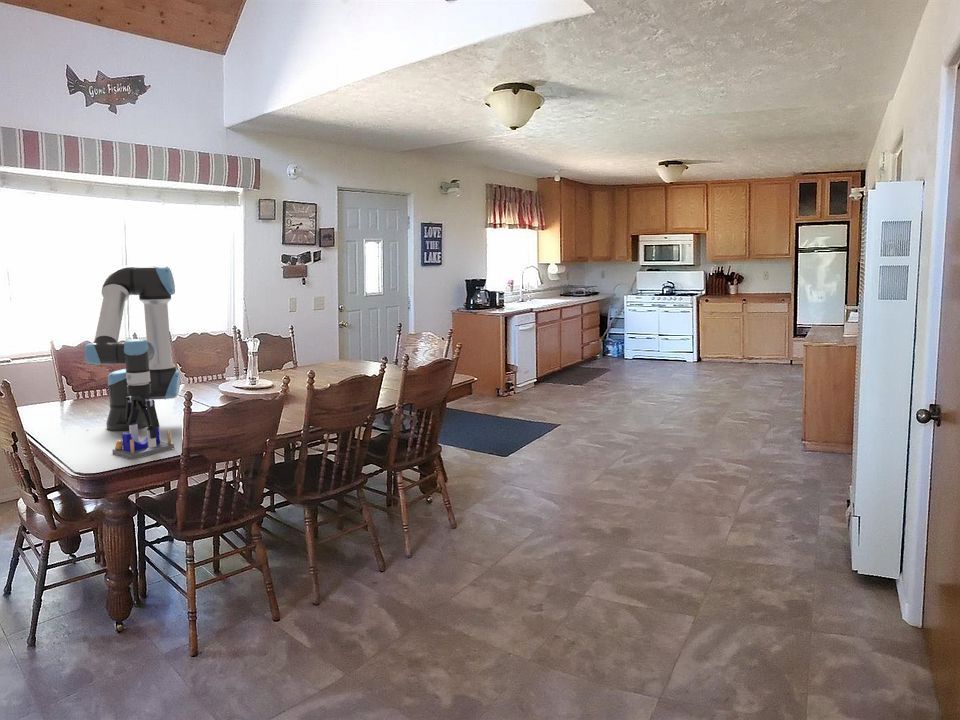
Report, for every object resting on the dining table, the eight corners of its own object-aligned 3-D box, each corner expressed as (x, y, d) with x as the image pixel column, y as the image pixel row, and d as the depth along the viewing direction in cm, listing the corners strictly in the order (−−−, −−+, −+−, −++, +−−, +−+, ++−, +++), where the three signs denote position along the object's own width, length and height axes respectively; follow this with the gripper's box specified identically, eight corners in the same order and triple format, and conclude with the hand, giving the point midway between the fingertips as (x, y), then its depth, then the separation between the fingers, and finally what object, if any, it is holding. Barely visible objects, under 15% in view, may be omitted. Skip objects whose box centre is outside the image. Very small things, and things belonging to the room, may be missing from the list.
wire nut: (113, 447, 251) (114, 440, 250) (120, 447, 253) (121, 439, 252) (117, 449, 249) (118, 442, 249) (123, 449, 251) (125, 441, 251)
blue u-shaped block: (130, 452, 248) (128, 435, 247) (123, 449, 250) (121, 433, 249) (162, 444, 257) (161, 428, 256) (155, 442, 260) (154, 426, 259)
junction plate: (112, 453, 251) (111, 435, 250) (154, 443, 264) (153, 426, 263) (132, 459, 244) (130, 440, 243) (174, 448, 258) (173, 430, 257)
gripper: (110, 381, 254) (115, 442, 257) (147, 388, 241) (152, 452, 245) (130, 378, 260) (135, 437, 263) (167, 385, 247) (172, 447, 251)
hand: (143, 444), depth 254 cm, fingers open, 10 cm apart
